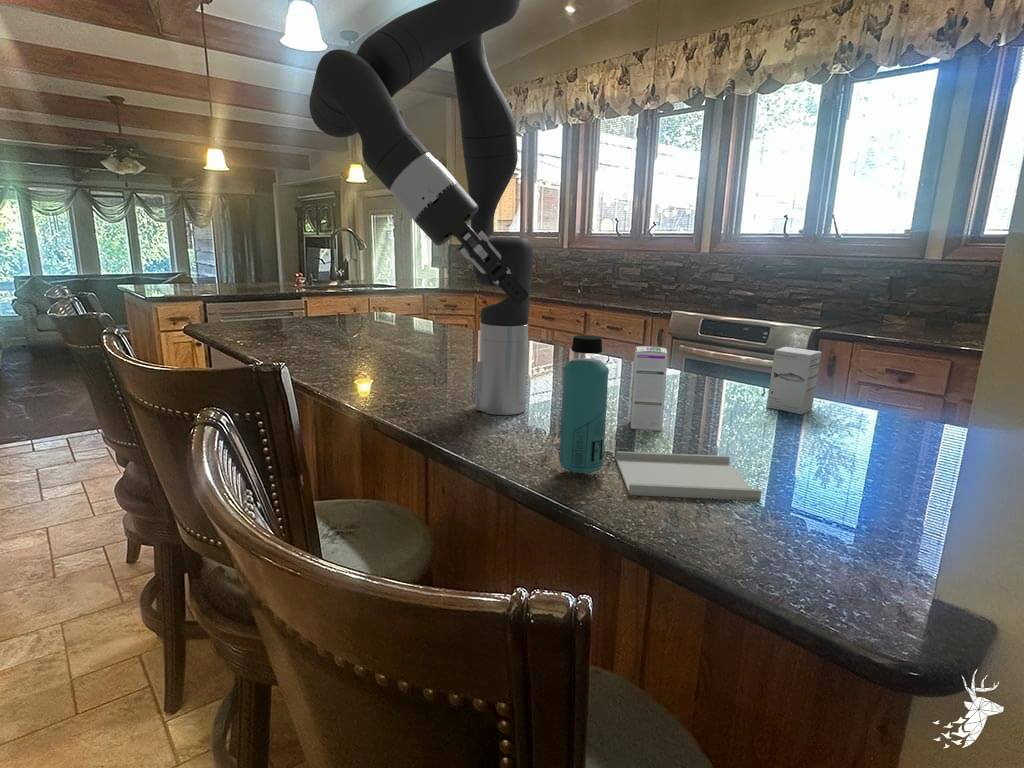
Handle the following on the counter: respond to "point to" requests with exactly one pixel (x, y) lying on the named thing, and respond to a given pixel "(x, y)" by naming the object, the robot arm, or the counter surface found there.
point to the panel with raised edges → (683, 476)
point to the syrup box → (649, 388)
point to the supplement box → (793, 379)
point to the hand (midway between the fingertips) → (523, 300)
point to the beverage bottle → (584, 408)
